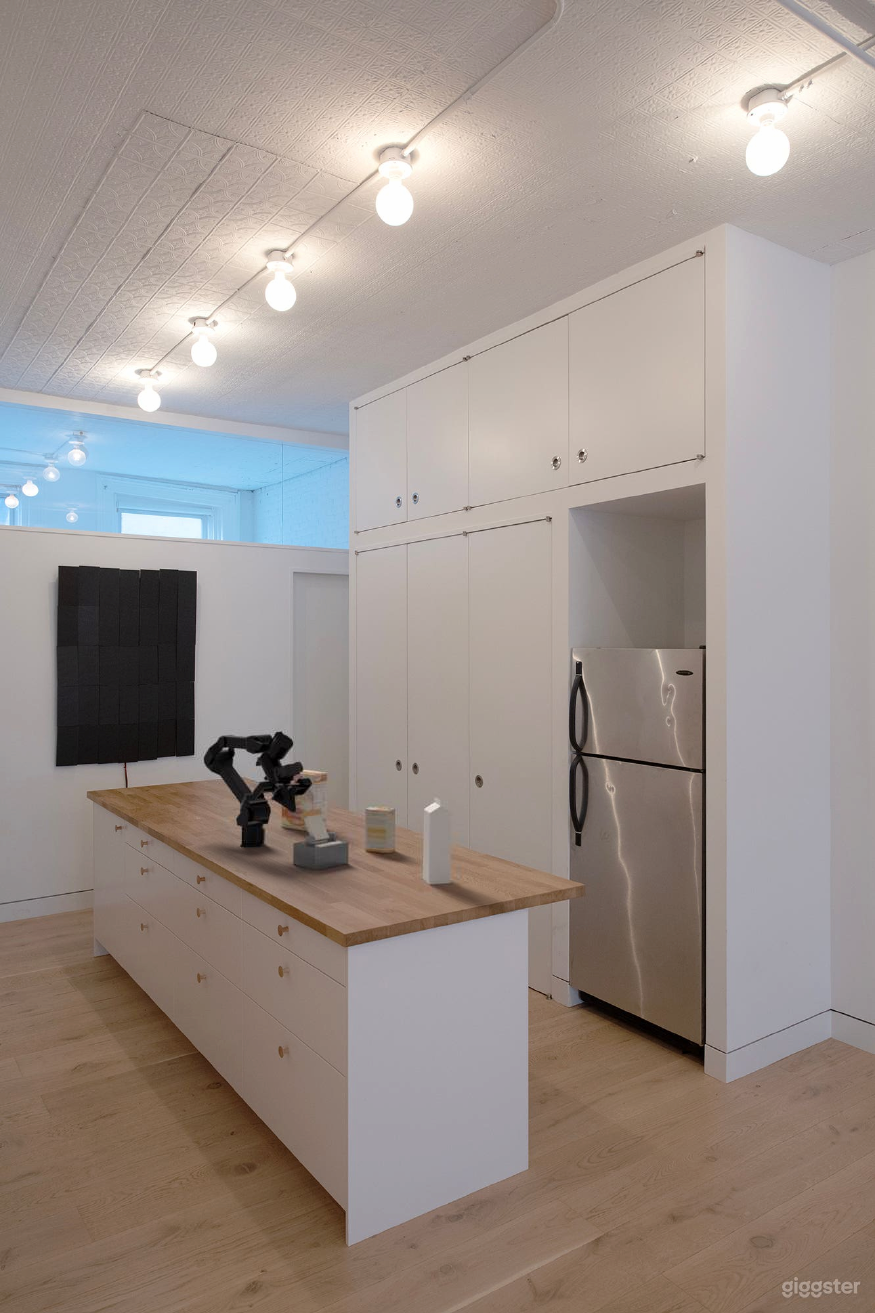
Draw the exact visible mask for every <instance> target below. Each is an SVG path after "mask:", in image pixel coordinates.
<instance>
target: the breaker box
mask: <svg viewBox="0 0 875 1313" xmlns="http://www.w3.org/2000/svg"><path fill="white" fill-rule="evenodd" d="M327 832H328V835H329V838H328V839H327V840H324V841H319V842H315V837H313V836H310V834H309V835H306V836H305V840H303V841H299V842H293V847H292V849H293V851H292V852H293V854H292V855H293V856H292V860H293V861H292V864H293V865H294V864H296V865H295V866H297V865H298V866H299V867H301V866H302V868H304V867H305V868H306V869H308V868H309V869H308V870H311V869H312V871H314V870H316V871H320V870H324V868H325V869H330V868H334V867H333V866H335V867H338V866H344V865H348V864H349V848H350V847H349V846H350V845H349V844H350V842H348V841H344V840H340V839H337V833H336V832H333V831H327ZM343 864H344V865H343ZM298 866H297V867H298ZM305 868H304V869H305Z"/></svg>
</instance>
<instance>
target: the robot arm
mask: <svg viewBox="0 0 875 1313" xmlns="http://www.w3.org/2000/svg"><path fill="white" fill-rule="evenodd" d="M293 747H294V741H293V739H292V738H290V736H288V735H287V734H285V733H283V731H276V732H274V735H273V736H272V735H271V734H269V733H267V734H254V735H248V736H243V735H241V736H240V735H233V734H227V735H226V734H225V735H221V736H219V738H218V739H217V741H216V742H214V743H213V744H212V745H211V746H209V747H208V749H207V750H206V752H205V754H204V757H203V764H204V765H205V767H206V768H207V770H209V771H210V772H211V773H213V774H216V775H218V776H220V778H221V779H222V780H223V782H224V783H225V785H226V786H227V787H228V789H229V790H230V792H231V793H232V794H233V795H234V797H235V798H236V800H237V801H238V802H239V805H240V806H239V807H240V808H239V812H240V813H238V815H237V817H236V819H235V822H236V825H237V827H241V843H240V847H262V846H263V845H264V843H265V842H266V828H264V825H268V824H269V822H270V817H271V813H272V809H271V805H270V803H269V799H267V798H265V794H271V793H272V796H271V797H270V800H271V801H274V802H276V803H278V804H279V805H281V807H282V806H284V807H285V808H287V809H288V810H289V811H291V812H292V813H293V812H295V811H296V803H295V796H298V795H303V794H305V793H306V791H307V790H308V789H309V788H310V787H311V785H312V782H311V780H310V778H298V780H297V781H296V782H295V783H291V781H293V779H294V776H296V775H299V774H300V773H301V772H303V770H304V766H303V764H302V763H301V761H295V762H293V763H288V764H285V765H283V764H282V763H281V762H282V760H284V758H286V756H287V754H288V753H289V752H290V751H291V749H292V748H293ZM227 748H228V749H227ZM236 749H237V750H239V749H240V750H246V752H247V753H249V754H251V755H257V754H260V756H258V757H257V758H256V762H255V766H256V767H261V768H262V771H263V772H264V775H265V776H264V777H263V779H264V780H263V781H259V783H258V784H257V785H256V786H255V787H254V789H253V791H252V790H251V788H250V786H248V784H247V783H246V781H245V780H244V779H243V778H242V776H241V775H240V774H239V772H238V771H237V770H236V769H235V767H234V757H235V755H236V752H235V750H236Z"/></svg>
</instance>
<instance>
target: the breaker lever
mask: <svg viewBox="0 0 875 1313" xmlns="http://www.w3.org/2000/svg"><path fill="white" fill-rule="evenodd" d="M321 814H322V811H321V809H317V810H311V811H304V812H303V813H302V814H301V815H300V817H301V820H303V819H304V821H305V824H306V826H307V829H308V831H307V832H308V834H309V836H313V837H315V842H319V841H324V840H327V839H328V838H329V835H328V832H329V831H327V826H326V827H325V825H324V822H323V820H322V817H321Z"/></svg>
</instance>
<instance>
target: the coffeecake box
mask: <svg viewBox="0 0 875 1313" xmlns="http://www.w3.org/2000/svg"><path fill="white" fill-rule="evenodd" d="M298 778H310V780H311V782H312V785H311V787H310V788H309V789H308V790H307V791H306V793H305V794H303V795H298V796H295V803H296V811H295V812H293V813H292V812H291V811H289V810H288V809H287V808H285V807H284V806H282V805H281V826H280V827H282V828H287V829H293V830H300V831H304V830H305V831H304V832H308V829H307V826H306V824H305V821H304V819H303V820H301V817H300V815H301V814H302V813H303V812H304V811H311V810H317V809H321V811H322V814H321V817H322V820H323V822H324V825H325V827H326V828H327V822H328V821H327V820H328V819H327V817H328V816H327V815H328V814H327V812H328V810H327V809H328V807H327V805H328V804H327V803H328V800H327V799H328V796H327V795H328V772H327V771H325V772H323V771H317V770H311V769H310V770H309V769H303V772H301V773H300V774H299V775H296V776H294V779H293V781H291V783H295V782H296V781H297V780H298Z"/></svg>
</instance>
